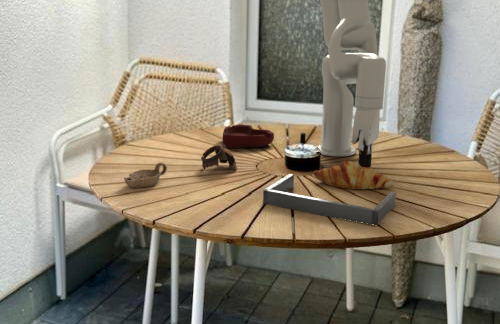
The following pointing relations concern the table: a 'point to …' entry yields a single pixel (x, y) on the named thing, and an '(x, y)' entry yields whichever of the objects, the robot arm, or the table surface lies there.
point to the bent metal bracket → (324, 203)
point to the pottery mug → (218, 157)
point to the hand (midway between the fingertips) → (364, 166)
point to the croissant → (353, 177)
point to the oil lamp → (145, 177)
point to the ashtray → (246, 137)
